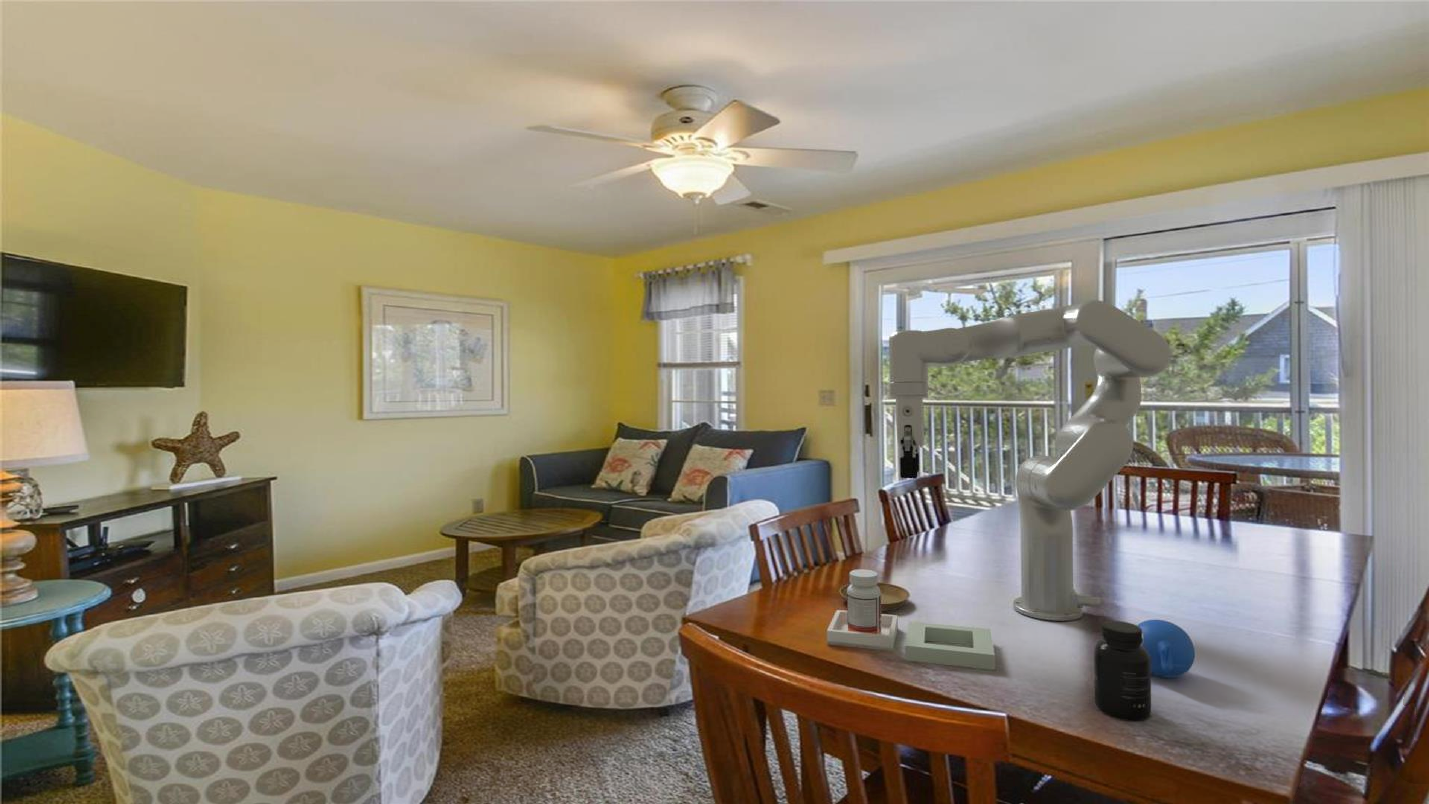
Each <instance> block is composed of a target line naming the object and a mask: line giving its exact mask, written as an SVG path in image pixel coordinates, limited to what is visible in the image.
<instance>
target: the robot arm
mask: <svg viewBox="0 0 1429 804" xmlns="http://www.w3.org/2000/svg"><path fill="white" fill-rule="evenodd" d="M1167 341H1168V340H1166V339H1165V337H1163V336H1162V335H1161V334H1159V332H1157V331H1155V330H1154V329H1153V328H1150V327H1149V326H1147V325H1146V324H1144V323H1142V321H1141V322H1140V321H1139V320H1138V319H1136V318H1135V317H1133V316H1131V315H1129V314H1128V313H1127V312H1124V311H1123V310H1121V309H1120V308H1118V307H1116V306H1114V305H1112V304H1111V303H1108V302H1106V301H1103V300H1100V299H1099V300H1098V299H1092V300H1087V301H1082V302H1078V303H1074V304H1070V305H1069V304H1068V305H1065V306H1059V307H1052V308H1047V309H1041V310H1035V311H1034V310H1033V311H1029V312H1023V313H1015V314H1011V315H1008V316H1002V317H999V318H997V319H996V318H995V319H994V320H993V319H992V320H989V321H986V322H982V323H978V324H973V325H970V326H963V327H959V328H958V327H957V328H955V327H946V328H944V327H943V328H939V329H934V330H933V329H932V330H925V331H922V330H918V329H917V330H916V329H915V330H913V329H911V330H910V329H909V330H899V331H898V330H897V331H894V332H892V333H890V335H889V337H888V359H889V360H888V361H889V365H888V366H889V367H888V369H889V371H888V372H889V399H890V400H891V399H892V400H894V399H895V421H896V436H897V445H898V447H900V457H899V472H900V473H899V476H900V478H901V479H917V477H918V473H919V472H920V452H919V450H918V449H919V448H923V447H924V445H925V420H924V419H925V418H924V417H925V416H924V415H925V413H924V401H923V399H928V398H929V379H928V378H929V375H928V373H929V371H928V368H929V367H928V366H931V367H933V368H935V367H936V368H938V367H947V366H955V365H958V364H961V363H967V362H975V361H981V360H983V361H984V360H990V359H1008V358H1015V357H1022V356H1030V355H1035V354H1040V353H1041V354H1042V353H1047V352H1053V351H1059V350H1065V349H1071V348H1079V347H1082V346H1089V345H1090V346H1091V345H1092V346H1093V347H1095V348H1096V349H1095V351H1094V354H1093V364H1094V369H1095V372H1096V386H1095V388H1094V391H1093V393H1092V394H1091V395H1090V397H1088V399H1087V400H1086V401H1085V402H1084V403H1083V405H1081V407H1080V408H1079V409H1078V410H1077V411H1076V412H1075V413H1074V414H1073V415H1072V417H1070V418H1069V419H1068V421H1066V423H1065V424H1064V425H1063V426H1062V427H1061V428H1060V429H1059V431H1058V433H1057V435H1056V437H1055V444H1056V445H1055V446H1056V449H1057V451H1058V452H1059V453H1060V454H1061V455H1062V456H1061V457H1059V458H1058V457H1054V456H1050V455H1036V456H1035V455H1034V456H1031V457H1029V458H1027V459H1026V460H1025V461H1023V462H1022V463H1021V465H1020V466H1019V467H1018V469H1017V472H1016V476H1015V487H1016V495H1017V500H1018V507H1019V518H1020V519H1019V521H1020V588H1021V589H1020V593H1021V594H1020V595H1021V596H1019V597H1017V598H1015V599H1014V600H1013V601H1012V603H1013V604H1012V606H1013V609H1014V611H1017V612H1018V613H1020V614H1022V615H1025V616H1028V617H1030V618H1035V619H1040V620H1045V621H1052V622H1053V621H1055V622H1056V621H1058V622H1059V621H1060V622H1065V621H1074V620H1078V619H1080V618H1081V617H1082V616H1083V608H1084V607H1091V608H1097V609H1099V608H1100V609H1101V607H1102V601H1101V597H1095V596H1094V597H1093V596H1091V595H1090V594H1078V592H1076V590H1075V589H1074V542H1073V541H1074V527H1073V525H1074V524H1073V517H1072V511H1077V510H1079V509H1081V508H1083V507H1084V508H1085V506H1086V505H1088V504H1089V503H1090V502H1091V501H1093V499H1095V498H1096V497H1097V496H1098V494H1100V492H1102V490H1103V489H1104V488H1105V487H1106V486H1107V485H1108V484H1109V483H1110V482H1111V481H1112V480H1113V479H1114V478H1115V476H1116V475H1118V473H1119V472H1120V471H1121V470H1122V469H1123V468H1124V467H1125V465H1126V464H1127V463H1128V461H1129V459H1130V458H1131V456H1132V453H1133V449H1134V438H1133V435H1132V433H1131V432H1132V431H1130V429H1129V428H1128V427H1127V425H1129V423H1130V421H1132V419H1134V417H1135V416H1136V414H1137V413H1138V411H1139V410H1140V407H1141V404H1142V403H1141V402H1142V386H1141V378H1151V377H1154V376H1157V375H1159V374H1160V373H1162V372H1164V370H1166V368H1167V367H1168V366H1169V364H1170V363H1171V360H1172V348H1171V347H1170V343H1168V342H1167ZM918 445H919V448H918Z"/></svg>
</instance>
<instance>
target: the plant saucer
mask: <svg viewBox="0 0 1429 804" xmlns="http://www.w3.org/2000/svg"><path fill="white" fill-rule="evenodd" d="M850 585H851V583H849V584H845V585H844V586H841V588H839V594H840V595H841V597H842V598H843V600H844V601H845V602H847V589H848V587H849V586H850ZM876 586H878V587H879V588H880V591H881V612H890V611H895V610H898V609H899V608H901V607H902V606H903V605H904V604H905V603H906V602H907V601H908V600H909V598H910V596H911V593H910V592H909V591H908V589H906V588H904V587H902V586H899V585H895V584H892V583H886V582H879V581H878V584H877V585H876Z"/></svg>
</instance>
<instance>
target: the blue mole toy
mask: <svg viewBox="0 0 1429 804" xmlns="http://www.w3.org/2000/svg"><path fill="white" fill-rule="evenodd" d="M1136 626H1138V627H1140V628H1141V629H1142V639H1143V643H1142V644H1141V646H1143V647H1144V648H1145V649H1146V650H1147V651H1148V652H1149V654H1150V657H1151V675H1152V674H1153V675H1155V676H1159V677H1162V678H1176V677H1179V676H1182V675H1185V674H1186V673H1188V672H1189V670H1191V668H1192V667H1193V664H1194V663H1195V657H1196V655H1195V654H1196V653H1195V647H1194V643H1193V641H1192V639H1191V637H1190V636H1189V635H1188V633H1187V632H1186V631H1185V630H1184V629H1183V628H1181V627H1180V626H1179V625H1177V624H1175V623H1174V622H1170V621H1168V620H1163V619H1148V620H1144V621H1142V622H1140V623H1138V624H1137V625H1136Z"/></svg>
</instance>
